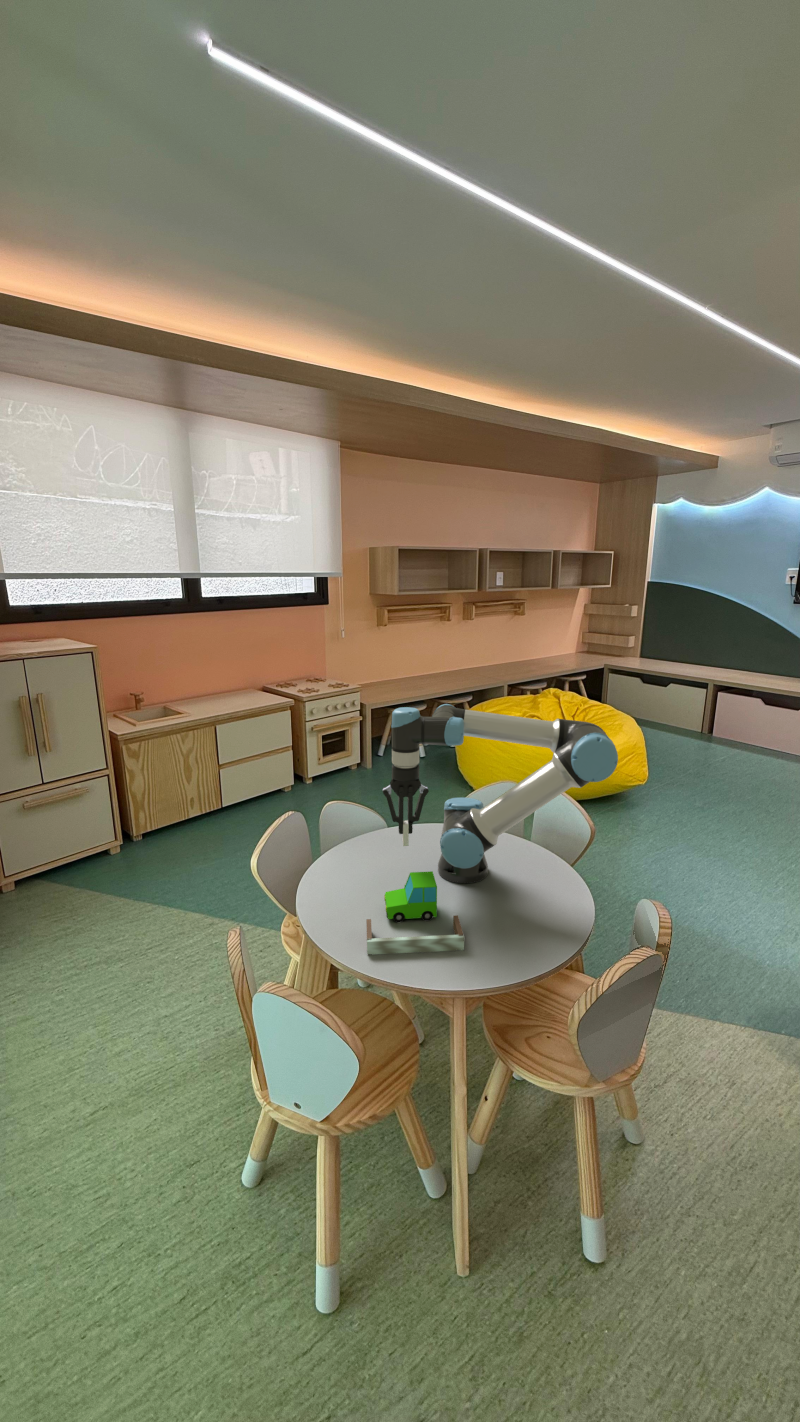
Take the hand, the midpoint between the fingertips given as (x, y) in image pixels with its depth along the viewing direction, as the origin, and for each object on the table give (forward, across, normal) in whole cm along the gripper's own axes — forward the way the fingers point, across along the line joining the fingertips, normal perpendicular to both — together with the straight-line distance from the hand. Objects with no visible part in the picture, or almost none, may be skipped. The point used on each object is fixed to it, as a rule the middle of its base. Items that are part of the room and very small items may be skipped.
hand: (405, 843), depth 171 cm
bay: (+15, 0, +24) cm, 28 cm away
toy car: (+15, 0, +12) cm, 19 cm away
